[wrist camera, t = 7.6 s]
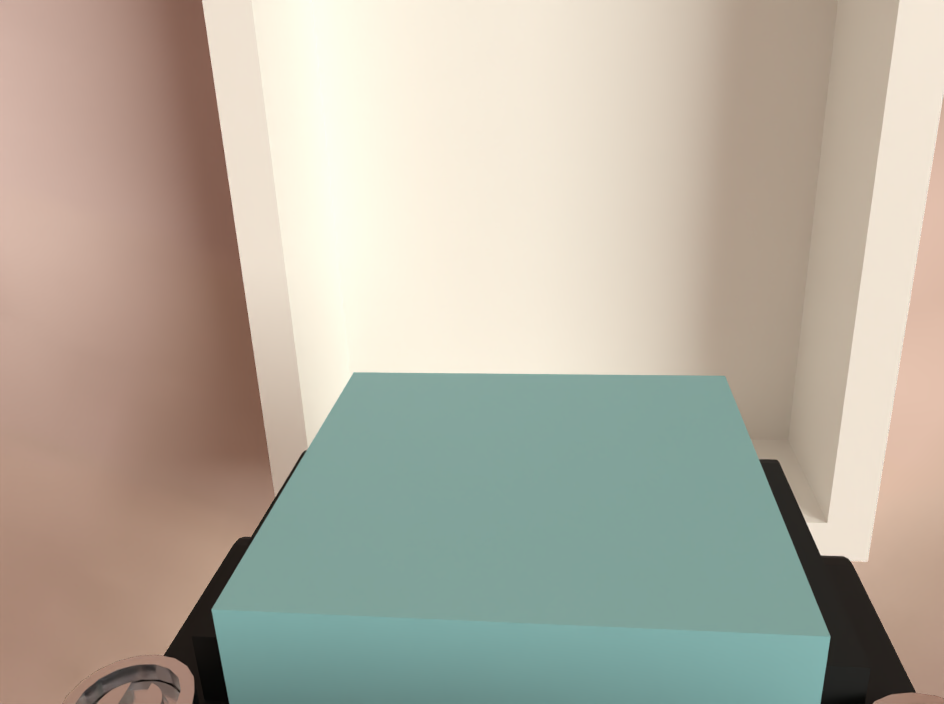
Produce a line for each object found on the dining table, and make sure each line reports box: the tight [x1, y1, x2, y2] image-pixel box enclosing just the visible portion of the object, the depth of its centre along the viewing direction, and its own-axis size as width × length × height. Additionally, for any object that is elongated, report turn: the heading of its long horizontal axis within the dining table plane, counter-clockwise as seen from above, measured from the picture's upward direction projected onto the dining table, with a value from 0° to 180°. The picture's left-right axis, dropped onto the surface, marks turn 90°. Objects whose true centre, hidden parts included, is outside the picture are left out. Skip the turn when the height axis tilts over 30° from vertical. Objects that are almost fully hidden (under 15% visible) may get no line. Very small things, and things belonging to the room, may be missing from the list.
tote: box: [202, 0, 944, 562], centre depth 19 cm, size 14×18×5 cm
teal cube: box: [211, 372, 830, 704], centre depth 10 cm, size 5×5×5 cm
